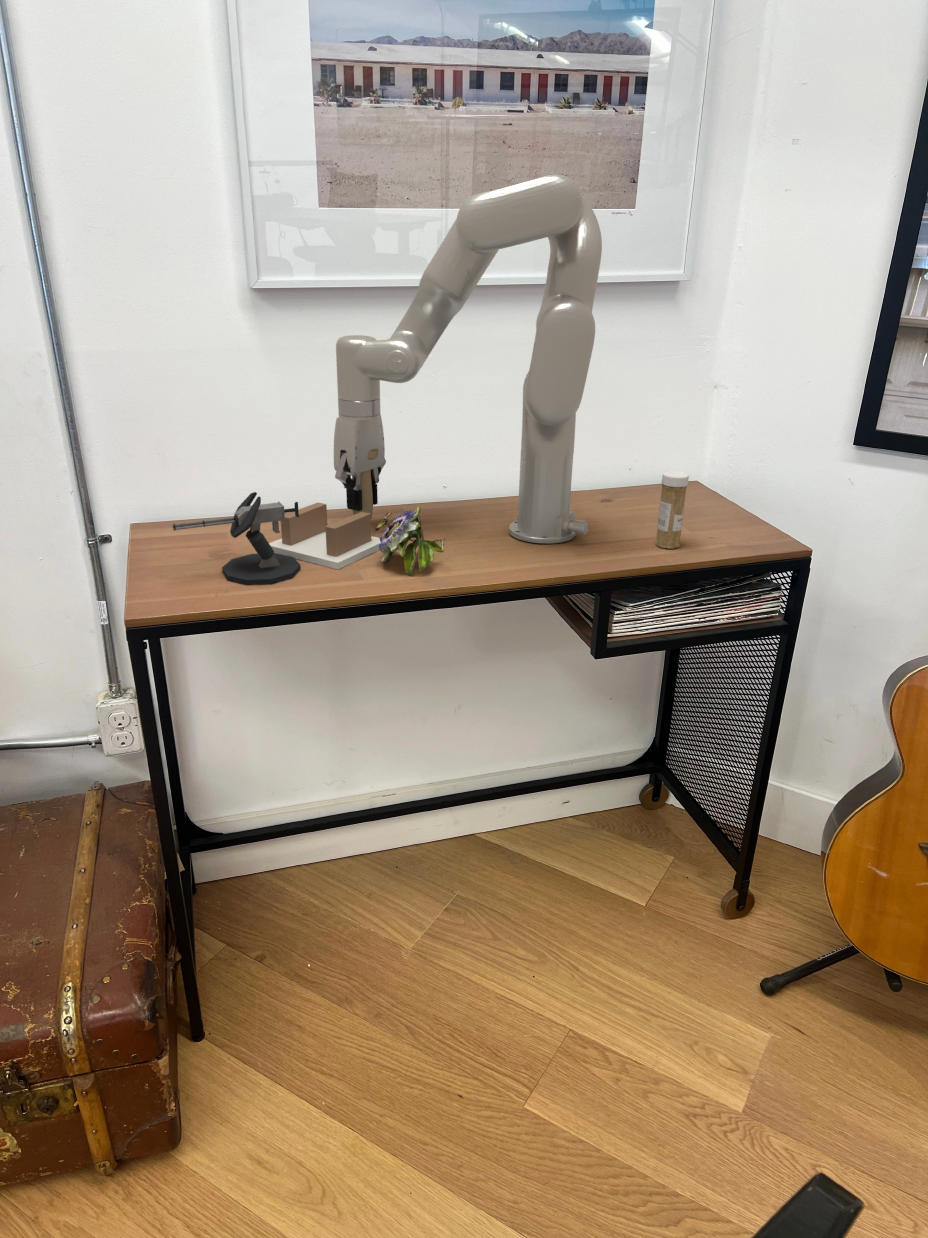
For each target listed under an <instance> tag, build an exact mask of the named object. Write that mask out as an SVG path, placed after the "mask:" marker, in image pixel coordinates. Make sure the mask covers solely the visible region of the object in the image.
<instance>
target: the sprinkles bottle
mask: <svg viewBox="0 0 928 1238" xmlns="http://www.w3.org/2000/svg"><path fill="white" fill-rule="evenodd" d="M689 478H690V476H689V473H687V472H684V471H677V470H668V471H665V472H663V473H662V476H661V495H660V500H659V506H658V507H659V508H658V517H657V526H656V527H657V531H656V537H655V538H656V539H655V542H654V544H655V545H656V546H657V547H659V548H661V549H666V548H667V550H669V549H670V550H671V549H673V550H674V549H677V548H679V547H680V546H681V534H682V529H683V521H684V514H685V513H684V511H685V501H686V493H687V488H688V484H689V480H690V479H689Z"/></svg>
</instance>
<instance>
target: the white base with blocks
mask: <svg viewBox="0 0 928 1238" xmlns="http://www.w3.org/2000/svg"><path fill="white" fill-rule="evenodd" d="M327 510H328V509H327V503H321V502H315V503H313V504H311V505H310V504H309V505H307V506H305V507H301V508H298V511H299V517H297V516H295V512H288V513H285V522H284V521H283V520H282V521H280V531H281V532H280V533H281V538H280V539H279V538H278V539H276V540H273V541H272V542H268V543H269V544H270V546H271V547H272V549H273V550H274V553H277V554H282V555H286V556H291V557H294V558H295V559H296V560H300V561H304V562H307V563H311V564H316V565H319V566H322V567H326V568H327V567H328V568H330V569H331V568H332V569H334V570H341V569H343V568H344V567H347V566H348V565H351V564H353V563H355V562H357V561H359V560H362V559H363V558H366V557H368V556H369V555H372V554H374V553H377V552H379V551H380V548H379V545H380V544H381V541H380V537H377V536H372V525H371V521H372V519H371V514H370V513H365V512H360V513H358V514H355V515H353V514H352V515H350V516H348V517H345V518H343V519H341V520H338V521H336V522H333V523H330V524H328V511H327Z"/></svg>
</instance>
